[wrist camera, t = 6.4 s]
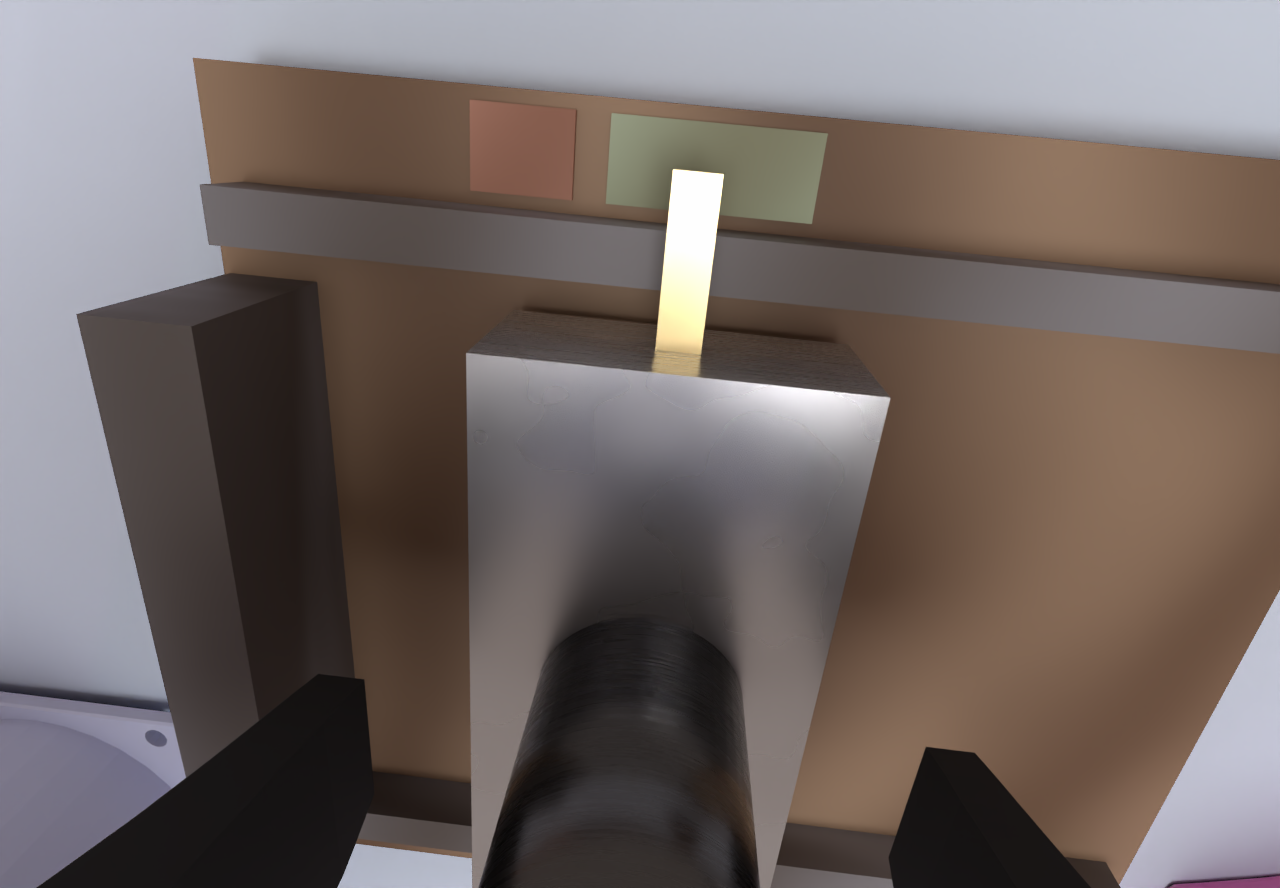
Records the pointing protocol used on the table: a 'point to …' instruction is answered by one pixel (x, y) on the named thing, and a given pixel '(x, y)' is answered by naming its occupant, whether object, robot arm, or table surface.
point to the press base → (741, 303)
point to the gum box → (1235, 883)
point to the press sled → (653, 579)
